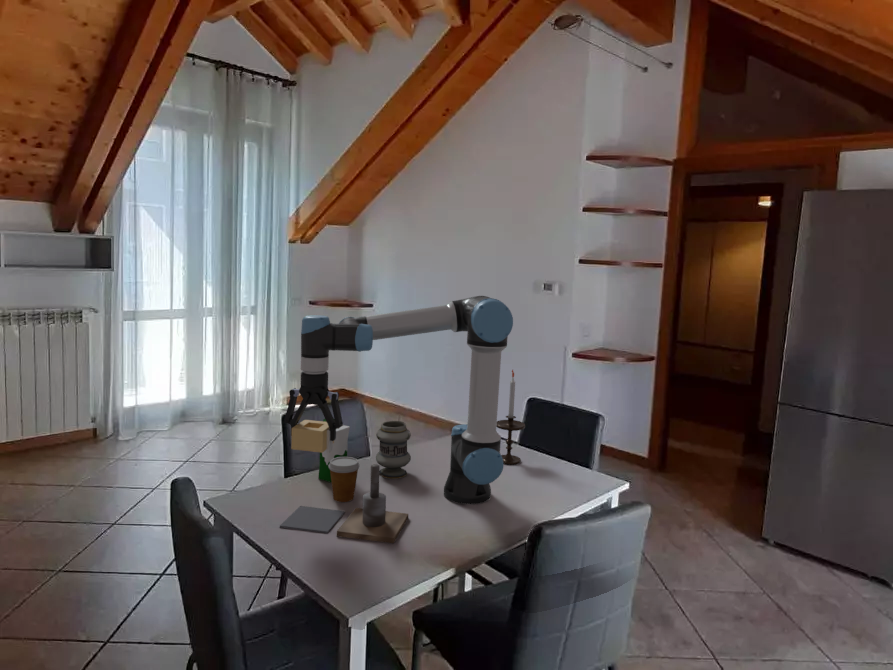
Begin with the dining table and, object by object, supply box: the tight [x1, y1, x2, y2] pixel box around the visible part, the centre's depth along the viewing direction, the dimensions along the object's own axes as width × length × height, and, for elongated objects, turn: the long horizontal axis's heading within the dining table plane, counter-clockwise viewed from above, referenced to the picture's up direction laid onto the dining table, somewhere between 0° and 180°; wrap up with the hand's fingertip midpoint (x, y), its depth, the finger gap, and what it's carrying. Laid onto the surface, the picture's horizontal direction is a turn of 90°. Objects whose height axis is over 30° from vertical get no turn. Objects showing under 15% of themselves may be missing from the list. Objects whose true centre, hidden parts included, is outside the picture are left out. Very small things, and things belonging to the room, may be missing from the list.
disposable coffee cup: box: [329, 456, 360, 503], centre depth 197 cm, size 10×10×12 cm
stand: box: [336, 463, 409, 544], centre depth 178 cm, size 16×16×18 cm
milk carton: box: [318, 418, 351, 484], centre depth 213 cm, size 9×9×20 cm
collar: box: [290, 419, 334, 453], centre depth 179 cm, size 9×9×6 cm
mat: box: [279, 505, 346, 534], centre depth 182 cm, size 14×14×1 cm
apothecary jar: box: [375, 420, 412, 480], centre depth 220 cm, size 12×12×18 cm
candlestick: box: [496, 369, 526, 466], centre depth 236 cm, size 11×11×35 cm
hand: (313, 449), depth 179 cm, fingers closed on collar, 9 cm apart
